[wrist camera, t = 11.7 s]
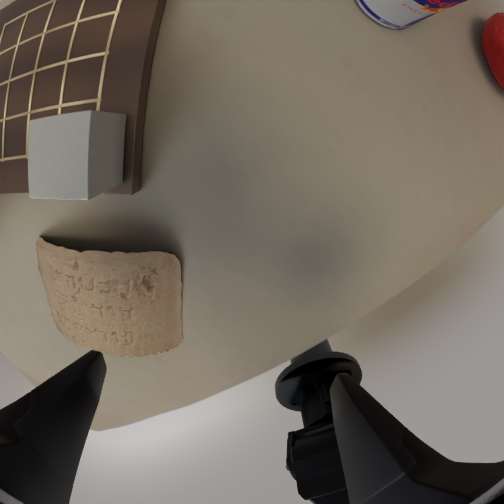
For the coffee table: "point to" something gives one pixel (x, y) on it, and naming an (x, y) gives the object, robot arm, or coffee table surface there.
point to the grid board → (74, 73)
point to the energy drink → (403, 10)
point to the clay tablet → (114, 298)
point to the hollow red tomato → (494, 45)
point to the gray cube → (75, 154)
